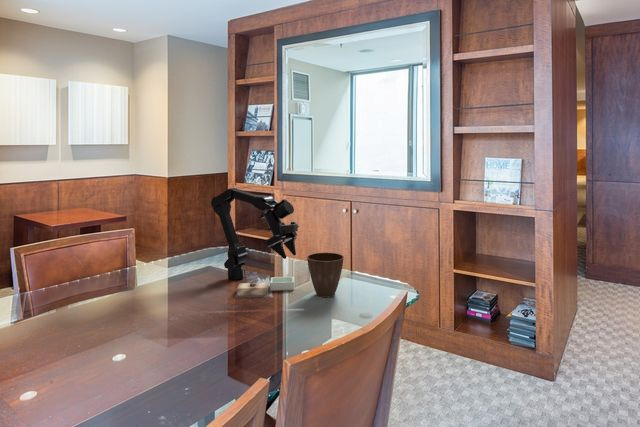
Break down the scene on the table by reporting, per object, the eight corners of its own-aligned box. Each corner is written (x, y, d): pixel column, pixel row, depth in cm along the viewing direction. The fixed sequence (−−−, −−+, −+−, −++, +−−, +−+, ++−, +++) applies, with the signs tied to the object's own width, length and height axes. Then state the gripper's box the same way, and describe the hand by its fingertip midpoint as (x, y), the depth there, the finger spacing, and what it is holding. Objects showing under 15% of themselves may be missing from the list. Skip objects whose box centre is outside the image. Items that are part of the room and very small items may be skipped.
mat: (234, 299, 191) (234, 297, 191) (238, 289, 203) (237, 288, 203) (269, 298, 192) (269, 296, 192) (270, 289, 204) (270, 287, 204)
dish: (270, 291, 200) (270, 282, 199) (271, 286, 208) (271, 277, 207) (294, 291, 200) (294, 282, 200) (294, 285, 208) (294, 276, 207)
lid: (237, 295, 194) (237, 286, 193) (239, 290, 201) (239, 281, 200) (267, 294, 194) (266, 285, 194) (268, 289, 201) (267, 280, 201)
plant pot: (309, 288, 204) (309, 252, 201) (344, 289, 202) (344, 252, 200) (305, 300, 189) (304, 260, 187) (342, 300, 188) (342, 261, 185)
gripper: (279, 217, 190) (296, 252, 189) (299, 213, 208) (314, 245, 206) (258, 228, 195) (274, 263, 193) (279, 224, 212) (294, 256, 210)
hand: (290, 256), depth 200 cm, fingers open, 9 cm apart
